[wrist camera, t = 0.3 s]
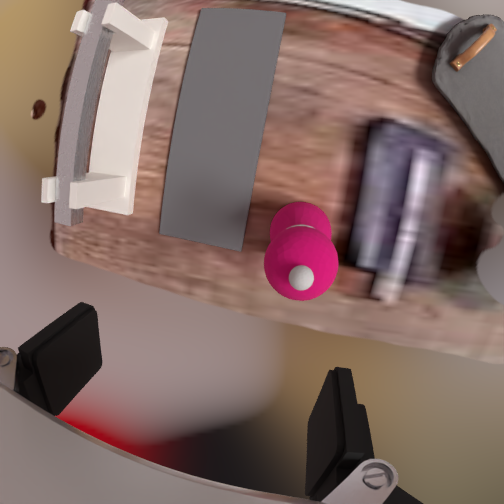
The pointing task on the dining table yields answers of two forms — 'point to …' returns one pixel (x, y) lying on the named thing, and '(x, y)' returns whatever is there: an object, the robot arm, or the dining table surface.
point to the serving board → (476, 80)
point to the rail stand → (117, 112)
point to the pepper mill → (300, 252)
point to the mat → (220, 125)
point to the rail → (81, 111)
